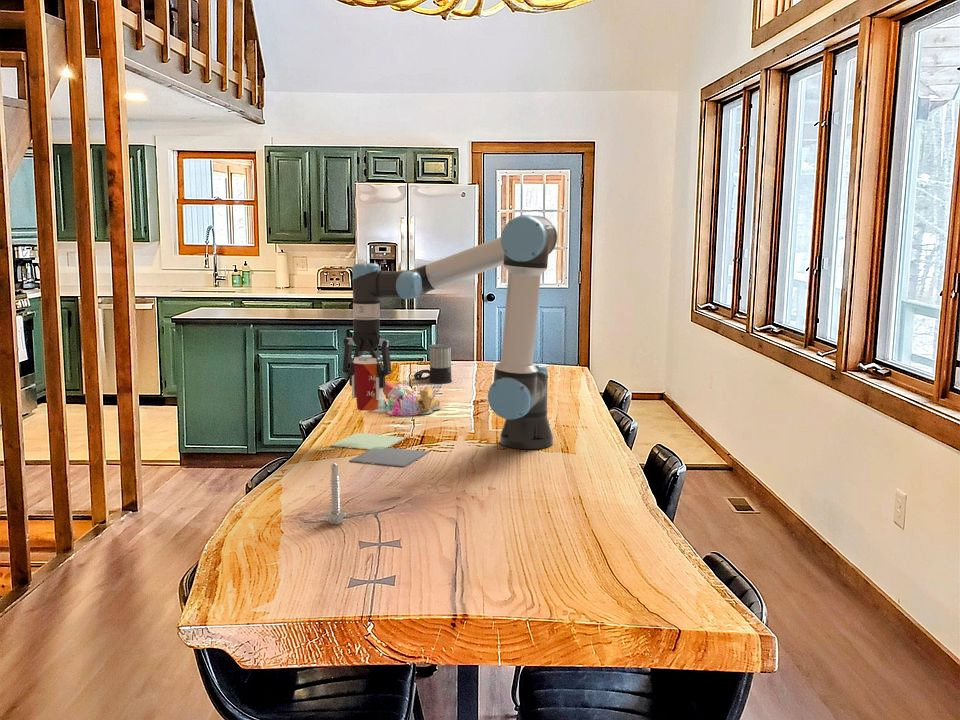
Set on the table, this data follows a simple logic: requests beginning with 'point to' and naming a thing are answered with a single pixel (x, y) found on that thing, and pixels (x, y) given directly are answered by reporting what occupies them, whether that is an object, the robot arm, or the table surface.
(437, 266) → the robot arm
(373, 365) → the coffee cup
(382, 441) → the pad green
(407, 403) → the pastel sphere sculpture
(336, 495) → the screw
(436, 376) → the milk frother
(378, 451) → the pad grey
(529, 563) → the table surface
